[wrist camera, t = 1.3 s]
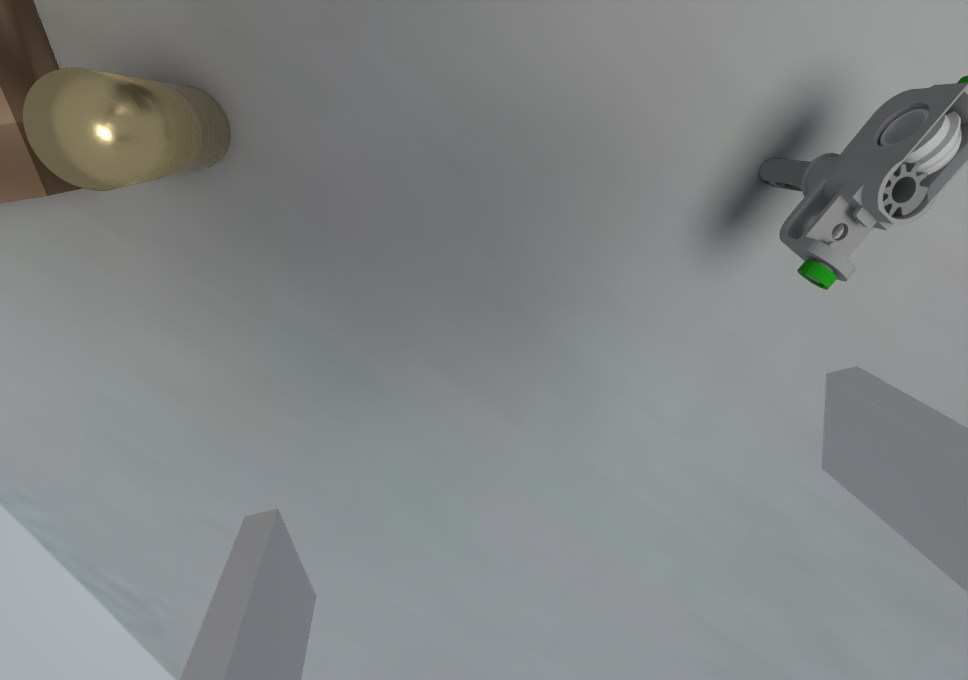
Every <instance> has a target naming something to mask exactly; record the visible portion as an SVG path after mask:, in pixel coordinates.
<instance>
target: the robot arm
mask: <svg viewBox="0 0 968 680" xmlns="http://www.w3.org/2000/svg"><path fill="white" fill-rule="evenodd" d="M822 469H823V470H825V471H826V472H827V473H828V474H829V475H830V476H832V477H833V478H834V479H835V480H836V481H837V482H839V483H840V484H841V485H842V486H843V487H844V488H846V489H847V490H848V491H849V492H850V493H852V494H853V495H854V496H855V497H856V498H857V499H859V500H860V501H861V502H862V503H863V504H864V505H866V506H867V507H868V508H869V509H870V510H871V511H873V512H874V513H875V514H876V515H877V516H879V517H880V518H881V519H882V520H883V521H884V522H886V523H887V524H888V525H889V526H890V527H891V528H893V529H894V530H895V531H896V532H897V533H898V534H900V535H901V536H902V537H903V538H904V539H906V540H907V541H908V542H909V543H910V544H911V545H913V546H914V547H915V548H916V549H917V550H918V551H920V552H921V553H922V554H923V555H924V556H925V557H927V558H928V559H929V560H930V561H931V562H933V563H934V564H935V565H936V566H937V567H938V568H940V569H941V570H942V571H943V572H944V573H945V574H947V575H948V576H949V577H950V578H951V579H952V580H954V581H955V582H956V583H957V584H958V585H960V586H961V587H962V588H963V589H964V590H965V591H967V592H968V428H966V427H965V426H963V425H961V424H959V423H957V422H956V421H954V420H952V419H950V418H948V417H947V416H945V415H943V414H941V413H940V412H938V411H936V410H934V409H932V408H931V407H929V406H927V405H925V404H923V403H922V402H920V401H918V400H916V399H915V398H913V397H911V396H909V395H907V394H906V393H904V392H902V391H900V390H899V389H897V388H895V387H893V386H891V385H890V384H888V383H886V382H884V381H882V380H881V379H879V378H877V377H875V376H874V375H872V374H870V373H868V372H866V371H865V370H863V369H861V368H859V367H857V366H856V367H852V368H848V369H844V370H839V371H835V372H831V373H827V374H826V392H825V412H824V432H823V452H822ZM315 600H316V595H315V593H314V590H313V588H312V586H311V584H310V581H309V579H308V577H307V574H306V572H305V570H304V567H303V565H302V563H301V560H300V558H299V556H298V553H297V551H296V549H295V547H294V544H293V542H292V540H291V537H290V535H289V533H288V530H287V528H286V526H285V523H284V521H283V519H282V516H281V514H280V512H279V510H278V509H275V510H271V511H267V512H263V513H259V514H255V515H250V516H246V517H244V520H243V522H242V525H241V527H240V530H239V532H238V535H237V537H236V540H235V542H234V545H233V547H232V550H231V552H230V555H229V558H228V560H227V563H226V565H225V568H224V570H223V573H222V575H221V578H220V580H219V583H218V585H217V588H216V590H215V593H214V595H213V598H212V600H211V603H210V605H209V608H208V610H207V613H206V616H205V618H204V621H203V623H202V626H201V628H200V631H199V633H198V636H197V638H196V641H195V643H194V646H193V648H192V651H191V653H190V656H189V658H188V661H187V663H186V666H185V668H184V671H183V674H182V676H181V679H180V680H301V676H302V671H303V665H304V660H305V655H306V649H307V644H308V638H309V633H310V627H311V622H312V616H313V611H314V605H315Z"/></svg>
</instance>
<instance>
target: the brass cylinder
mask: <svg viewBox="0 0 968 680" xmlns="http://www.w3.org/2000/svg"><path fill="white" fill-rule="evenodd" d="M23 124H24V129H25V133H26V136H27V139H28V141H29V143H30V145H31V147H32V149H33V151H34V152H35V154H36V155H37V157H38V158H39V159H40V160H41V162H42V163H43V164H44V165H45V166H46V167H47V168H48V169H49V170H50V171H52V172H53V173H54V174H55V175H57V176H58V177H60V178H61V179H63V180H65V181H67V182H68V183H70V184H73V185H75V186H78V187H81V188H85V189H89V190H97V191H105V190H113V189H117V188H122V187H126V186H130V185H135V184H139V183H143V182H147V181H152V180H156V179H160V178H165V177H169V176H173V175H178V174H182V173H186V172H190V171H195V170H199V169H203V168H207V167H210V166H212V165H214V164H216V163H217V162H218V161H220V160H221V158H222V157H223V156H224V155H225V153H226V151H227V149H228V146H229V143H230V127H229V122H228V120H227V117H226V115H225V113H224V111H223V110H222V108H221V107H220V105H219V104H218V103H217V102H216V101H215V100H214V99H213V98H212V97H210V96H209V95H208V94H206V93H205V92H203V91H201V90H199V89H196V88H193V87H189V86H183V85H177V84H171V83H165V82H159V81H153V80H147V79H142V78H136V77H130V76H124V75H118V74H112V73H106V72H100V71H94V70H88V69H82V68H63V69H58V70H55V71H52V72H49V73H47V74H46V75H44V76H42V77H41V78H40V79H38V80H37V81H36V82H35V83H34V85H33V86H32V87H31V89H30V90H29V92H28V94H27V96H26V99H25V102H24V107H23Z"/></svg>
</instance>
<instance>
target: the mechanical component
mask: <svg viewBox="0 0 968 680" xmlns="http://www.w3.org/2000/svg"><path fill="white" fill-rule="evenodd" d="M959 145H960V146H959ZM958 147H959V150H958V152H957V154H956V155H955V156H954V158H953V159H952V160H951V161H950V162H949V163H948V164H946V165H945V166H944V167H942V168H941V169H939V170H938V171H936V172H934V173H932V174H930V175H928V172H930V171H932V170H934V169H936V168H938V167H939V166H940V165H942V164H943V163H944V162H946V161H947V160H948V159H949V158H950V157H951V156H952V155H953V154H954V153H955V152H956V150H957V149H958ZM967 162H968V76H965V77H963V78H961V79H960V80H959V81H958V83H957V84H943V85H934V86H932V87H930V88H924V89H911V90H908V91H904V92H902V93H900V94H898V95H896V96H894V97H893V98H891V99H890V100H888V101H887V102H886V103H884V104H883V105H882V106H881V107H880V108H879V109H878V110H877V111H876V112H875V113H874V114H873V115H872V117H871V118H870V119H869V120H868V121H867V123H866V124H865V125H864V126H863V128H862V129H861V130H860V131H859V132H858V134H857V135H856V136H855V137H854V138H853V140H852V141H851V142H850V143H849V144H848V146H847V147H846V148H845V149H844V150H843V152H842V153H841V154H840V155H839V154H835V153H827V154H823V155H821V156H819V157H817V158H816V159H814V160H813V161H812V162H806V161H796V160H786V159H776V158H771V159H768V160H767V161H765V162H764V163H763V164H762V166H761V167H760V170H759V176H760V177H761V178H762V179H763V180H767V181H769V183H768V186H773V187H779V188H785V189H791V190H797V191H802V192H803V195H804V197H805V198H804V199H803V200H802V201H801V202H800V204H799V205H798V206H797V207H796V208H795V210H794V211H793V212H792V213H791V214H790V216H789V217H788V218H787V219H786V221H785V222H784V224H783V225H782V227H781V230H780V239H781V241H782V242H783V243H784V244H785V245H787V246H788V247H789V248H790V249H791V250H792V251H793V252H795V253H796V254H797V255H798V256H799V257H800V258H802V259H803V260H804V261H805V262H804V263H803V264H802V266H801V267H800V268H799V269H798V270H797V271H798V273H799V274H800V275H801V276H803V277H804V278H805V279H807V280H808V281H810V282H811V283H813V284H815V285H817V286H818V287H820V288H823V289H828V288H829V287H830V286H831V285H832V284H833V283H834V282H835V280H836V279H838V280H841V281H847V280H848V278H849V277H850V276H851V275H852V274H853V273H854V272H855V270H856V267H855V266H854V264H853V263H852V262H851V261H850V260H848V259H847V258H848V257H849V256H850V255H851V254H852V253H853V251H854V250H855V249H856V248H857V247H858V246H859V245H860V243H861V242H862V241H863V240H864V239H865V238H866V236H867V235H868V234H869V233H870V232H871V231H872V230H873V228H879V229H883V230H888V229H889V228H890V226H891V225H892V224H895V225H904V224H909V223H911V222H914V221H915V220H917V219H919V218H920V217H922V216H923V215H924V214H925V213H926V212H927V211H928V210H929V209H930V208H931V206H932V205H933V203H934V202H935V200H936V198H937V196H938V195H939V194H940V193H941V191H942V190H943V189H944V188H945V187H946V186H947V185H948V184H949V182H950V181H951V180H952V179H953V178H954V177H955V176H956V175H957V173H958V172H959V171H960V170H961V169H962V168H963V167H964V166H965V164H966V163H967ZM843 227H844V231H843V234H842V235H841V236H840V237H839V238H838V239H835V240H834V238H835V237H836V235H837V234H838V233H839V232H840V231H841V230H842V228H843Z"/></svg>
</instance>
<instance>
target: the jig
mask: <svg viewBox="0 0 968 680" xmlns="http://www.w3.org/2000/svg"><path fill="white" fill-rule="evenodd" d="M58 69H59V68H58V65H57V62H56V60H55V57H54V55H53V52H52V49H51V47H50V44H49V42H48V39H47V36H46V34H45V31H44V29H43V26H42V23H41V21H40V18H39V16H38V13H37V10H36V8H35V5H34V3H33V0H0V203H2V202H9V201H15V200H22V199H28V198H35V197H41V196H48V195H52V194H57V193H62V192H67V191H72V190H76V189H81V187H78V186H75V185H73V184H70V183H68V182H67V181H65V180H63V179H61V178H60V177H58V176H57V175H55V174H54V173H53V172H52V171H50V170H49V169H48V168H47V167H46V166H45V165H44V164H43V163H42V162H41V160H40V159H39V158H38V157H37V155H36V154H35V152H34V151H33V149H32V147H31V145H30V143H29V141H28V139H27V136H26V133H25V129H24V124H23V107H24V102H25V99H26V96H27V94H28V92H29V90H30V89H31V87H32V86H33V85H34V83H35V82H36V81H37V80H38V79H40V78H41V77H42V76H44V75H46V74H47V73H49V72H52V71H55V70H58Z"/></svg>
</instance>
